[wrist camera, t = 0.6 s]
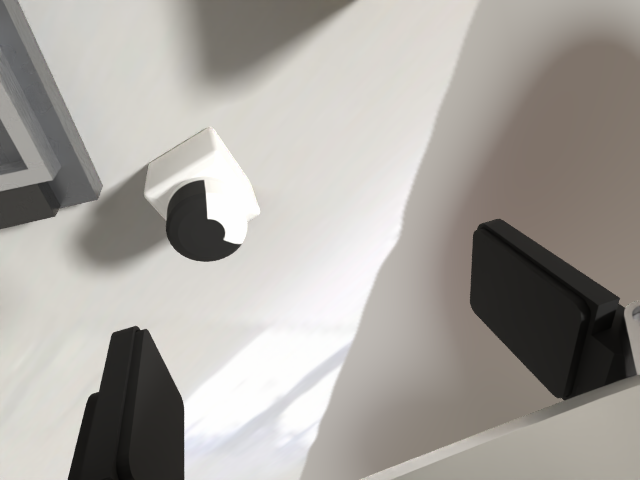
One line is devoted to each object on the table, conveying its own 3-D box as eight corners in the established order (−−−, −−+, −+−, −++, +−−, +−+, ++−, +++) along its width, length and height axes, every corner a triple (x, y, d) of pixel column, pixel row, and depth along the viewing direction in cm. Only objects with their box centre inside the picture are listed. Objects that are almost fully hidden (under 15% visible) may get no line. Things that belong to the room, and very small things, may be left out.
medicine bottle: (192, 218, 43) (196, 287, 34) (146, 163, 39) (135, 224, 29) (251, 182, 43) (272, 241, 33) (211, 124, 39) (221, 172, 29)
